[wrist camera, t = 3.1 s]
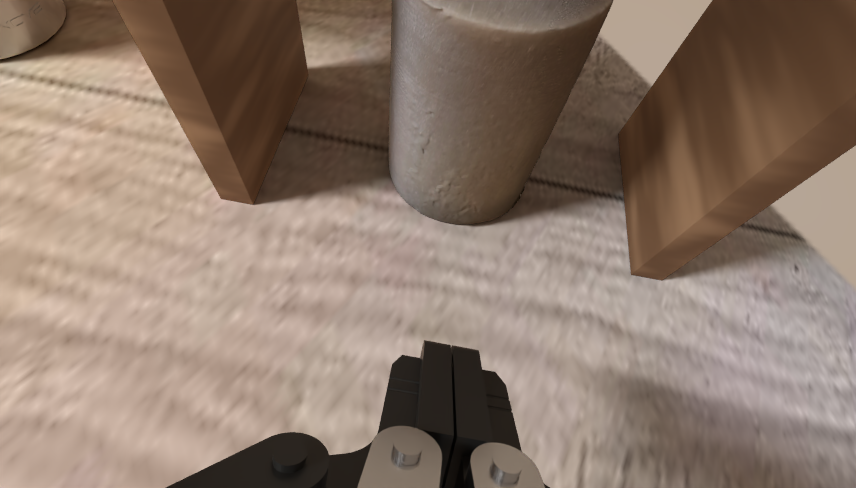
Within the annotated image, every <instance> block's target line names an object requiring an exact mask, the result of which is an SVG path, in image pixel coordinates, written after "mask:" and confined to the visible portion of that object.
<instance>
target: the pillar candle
mask: <svg viewBox="0 0 856 488" xmlns="http://www.w3.org/2000/svg"><path fill="white" fill-rule="evenodd" d="M612 3H613V0H392V24H391V64H390V100H389V171H390V174H391V178H392V181H393V184H394V186H395V188H396V190H397V191H398V193H399V194H400V195H401V197H402V198H403V199H404V200H405V201H406V202H407V203H408V204H409V205H410V206H412V207H413V208H415V209H416V210H417V211H419V212H420V213H422V214H423V215H425V216H427V217H430V218H433V219H436V220H438V221H442V222H448V223H452V224H476V223H480V222H485V221H489V220H493V219H495V218H498V217H500V216H501V215H503V214H505V213H507V212H508V211H509V210H510V209H511V208H513V207H514V205H515V204H516V203H517V201H518V200H519V198H520V194H522V192H523V191H524V188H525V184H526V182H527V180H528V178H529V176H530V174H531V172H532V170H533V168H534V166H535V164H536V162H537V160H538V159H539V157H540V154H541V151H542V149H543V147H544V145H545V144H546V142H547V140H548V138H549V136H550V134H551V132H552V130H553V128H554V126H555V124H556V122H557V119H558V117H559V115H560V113H561V111H562V109H563V107H564V105H565V103H566V101H567V99H568V97H569V95H570V92H571V90H572V88H573V86H574V84H575V83H576V80H577V78H578V76H579V74H580V72H581V70H582V68H583V66H584V63H585V61H586V59H587V57H588V55H589V53H590V51H591V49H592V47H593V45H594V43H595V41H596V38H597V36H598V34H599V32H600V29H601V27H602V25H603V23H604V21H605V19H606V17H607V14H608V12H609V10H610V7H611V5H612Z"/></svg>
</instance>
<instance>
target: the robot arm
mask: <svg viewBox="0 0 856 488" xmlns="http://www.w3.org/2000/svg"><path fill="white" fill-rule="evenodd" d="M65 17H66V7H65V5H64V2H63V0H0V59H4V58H8V57H11V56H15V55H18V54H21V53H24V52H26V51H28V50H30V49H33V48H35V47H37V46H38V45H40V44H42V43H43V42H45V41H47V40H48V39H49V38H50V37H52V36H53V35H54V34H55V33H56V32H57V31H58V30H59V28H60V27H61V26H62V24H63V22H64V19H65ZM511 410H512V409H511V405H510V401H509V397H508V393H507V388H506V385H505V384H504V382H503V381H502V380H501V379H500V377H499V376H498V375H497V374H496V372H492V371H486V370H482V367H481V361H480V354H479V351H478V350H474V349H469V348H463V347H458V346H453V345H452V347H451V346H450V345H447V344H441V343H436V342H431V341H425V340H424V343H423V347H422V352H421V357H420V358H416V357H410V356H405V355H402V356H401V357H400V358H398V359H397V360H396V361H395V362H394V363H393V364H392V368H391V373H390V378H389V383H388V387H387V392H386V397H385V402H384V407H383V412H382V416H381V421H380V426H379V431H378V434H377V435H376V437H375V438H374V440H373V441H372V442H371V443H370V444H369V445H368V446H366V447H364V448H363V449H360V450H358V451H355V452H352V453H346V454H337V455H329V454H328V451H327V449H326V447H325V446H324V445H323V444H322V443H321V442H320V441H319V440H318V439H316V438H314V437H312V436H310V435H307V434H303V433H296V432H290V433H281V434H277V435H274V436H271V437H269V438H267V439H265V440H263V441H261V442H259V443H257V444H255V445H252V446H250V447H248V448H246V449H244V450H242V451H240V452H238V453H236V454H234V455H232V456H230V457H228V458H226V459H224V460H222V461H220V462H218V463H216V464H213V465H211V466H209V467H207V468H205V469H203V470H201V471H199V472H197V473H195V474H193V475H191V476H189V477H187V478H185V479H183V480H181V481H179V482H176V483H174V484H172V485H170V486H168V487H166V488H550V487H548V486H546V485H545V484H544V483H543V481H542V478H541V475H540V473H539V470H538V468H537V467H536V465H535V464H534V462H533V461H532V460H531V459H530V458H529V457H528V456H527V455H525V454H524V453H523V452H522V451H521V447H520V443H519V438H518V434H517V430H516V426H515V422H514V418H513V413H512V412H511Z"/></svg>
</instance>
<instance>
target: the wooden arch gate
mask: <svg viewBox="0 0 856 488" xmlns="http://www.w3.org/2000/svg"><path fill="white" fill-rule="evenodd" d="M112 1H113V3H114V4H115V6H116V8H117V10H118V12H119V14H120V15H121V17H122V19H123V21H124V23H125V25H126V26H127V28H128V30H129V32H130V34H131V35H132V37H133V39H134V41H135V43H136V45H137V46H138V48H139V50H140V52H141V54H142V56H143V57H144V59H145V61H146V63H147V65H148V66H149V68H150V70H151V72H152V74H153V76H154V77H155V79H156V81H157V83H158V85H159V87H160V88H161V90H162V92H163V94H164V96H165V97H166V99H167V101H168V103H169V105H170V107H171V108H172V110H173V112H174V114H175V116H176V117H177V119H178V121H179V123H180V125H181V127H182V128H183V130H184V132H185V134H186V136H187V138H188V139H189V141H190V143H191V145H192V147H193V148H194V150H195V152H196V154H197V156H198V158H199V159H200V161H201V163H202V165H203V167H204V169H205V170H206V172H207V174H208V176H209V178H210V179H211V181H212V183H213V185H214V187H215V189H216V190H217V192H218V194H219V196H220V198H221V199H225V200H231V201H236V202H242V203H247V204H252V205H253V204H254V202H255V199H256V197H257V195H258V192H259V190H260V188H261V185H262V183H263V180H264V178H265V176H266V173H267V171H268V169H269V166H270V164H271V162H272V159H273V157H274V155H275V152H276V150H277V148H278V145H279V143H280V141H281V138H282V136H283V134H284V131H285V129H286V127H287V124H288V122H289V120H290V117H291V115H292V113H293V110H294V108H295V106H296V103H297V101H298V99H299V96H300V94H301V91H302V89H303V87H304V84H305V82H306V80H307V77H308V69H307V63H306V57H305V51H304V45H303V39H302V33H301V27H300V21H299V15H298V9H297V3H296V0H112ZM618 138H619V149H620V159H621V170H622V181H623V192H624V203H625V213H626V224H627V235H628V246H629V257H630V268H631V275H636V276H641V277H647V278H652V279H658V280H663V279H665V278H666V277H668V276H669V275H670V274H672V273H673V272H675V271H676V270H678V269H679V268H680V267H682V266H683V265H685V264H686V263H688V262H689V261H690V260H692V259H693V258H695V257H696V256H698V255H699V254H700V253H702V252H703V251H705V250H706V249H708V248H709V247H711V246H712V245H713V244H715V243H716V242H718V241H719V240H721V239H722V238H723V237H725V236H726V235H728V234H729V233H731V232H732V231H733V230H735V229H736V228H738V227H739V226H741V225H742V224H743V223H745V222H746V221H748V220H749V219H751V218H752V217H754V216H755V215H756V214H758V213H759V212H761V211H762V210H764V209H765V208H766V207H768V206H769V205H771V204H772V203H774V202H775V201H776V200H778V199H779V198H781V197H782V196H784V195H785V194H786V193H788V192H789V191H791V190H792V189H794V188H795V187H796V186H798V185H799V184H801V183H802V182H803V181H805V180H807V179H808V178H809V177H811V176H812V175H814V174H815V173H817V172H818V171H819V170H821V169H822V168H824V167H825V166H827V165H828V164H829V163H831V162H832V161H834V160H835V159H837V158H838V157H840V156H841V155H842V154H844V153H845V152H847V151H848V150H850V149H851V148H852V147H854V146H855V145H856V0H713V1H712V2H711V3H710V5H709V6H708V8H707V9H706V10H705V12H704V13H703V15H702V16H701V17H700V19H699V20H698V22H697V23H696V25H695V26H694V27H693V29H692V30H691V32H690V33H689V35H688V36H687V37H686V39H685V40H684V42H683V43H682V44H681V46H680V48H679V49H678V50H677V52H676V53H675V54H674V56H673V57H672V59H671V60H670V62H669V63H668V64H667V66H666V67H665V69H664V70H663V72H662V73H661V75H660V76H659V77H658V79H657V80H656V81H655V83H654V84H653V86H652V87H651V89H650V90H649V91H648V93H647V94H646V96H645V97H644V99H643V100H642V101H641V103H640V104H639V106H638V107H637V109H636V110H635V111H634V113H633V114H632V116H631V117H630V119H629V120H628V121H627V123H626V124H625V126H624V127H623V128H622V130H621V131H620V133H619V134H618Z"/></svg>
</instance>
